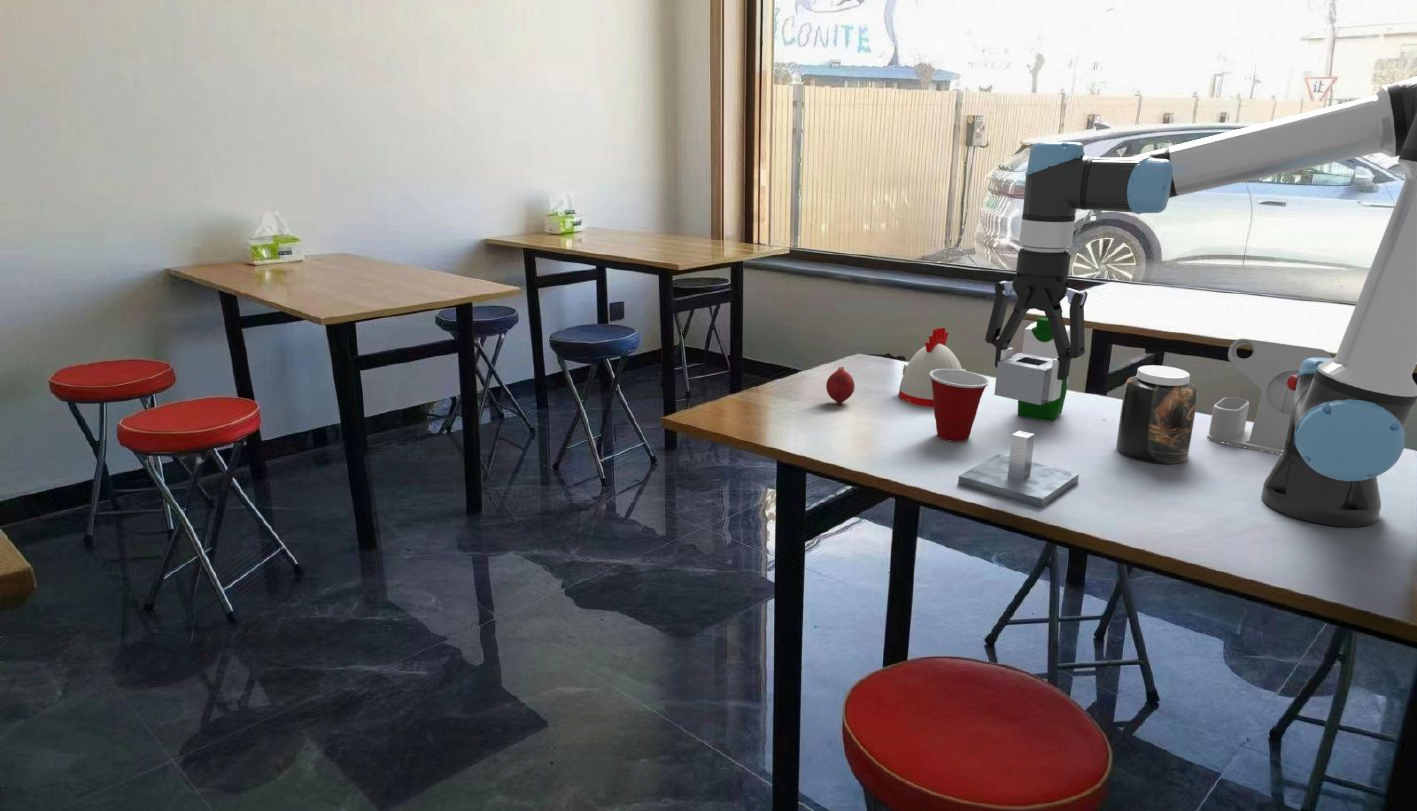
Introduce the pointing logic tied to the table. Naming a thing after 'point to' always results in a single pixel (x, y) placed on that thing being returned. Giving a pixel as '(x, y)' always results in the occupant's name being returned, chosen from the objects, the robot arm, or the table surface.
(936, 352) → the chicken hat
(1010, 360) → the block
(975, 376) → the plastic cup
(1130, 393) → the jar
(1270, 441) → the phone holder
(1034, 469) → the stand
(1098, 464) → the table surface
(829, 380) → the onion
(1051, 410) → the milk carton
